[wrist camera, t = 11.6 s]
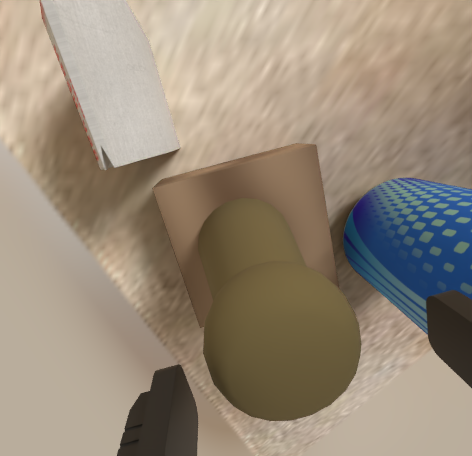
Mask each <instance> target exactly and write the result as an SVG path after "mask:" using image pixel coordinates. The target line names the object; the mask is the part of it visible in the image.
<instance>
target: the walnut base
mask: <svg viewBox="0 0 472 456" xmlns="http://www.w3.org/2000/svg"><path fill="white" fill-rule="evenodd" d="M152 189H153V192H154V195H155V197H156V200H157V203H158V206H159V209H160V212H161V215H162V218H163V221H164V224H165V227H166V229H167V232H168V235H169V238H170V241H171V244H172V247H173V250H174V253H175V256H176V259H177V261H178V264H179V267H180V270H181V273H182V276H183V279H184V282H185V285H186V288H187V291H188V294H189V296H190V299H191V302H192V305H193V308H194V311H195V314H196V317H197V320H198V323H199V326H200V328H202V327H205V319H206V317H207V315H208V312H209V310H210V308H211V305H212V303H213V298H212V295H211V291H210V288H209V285H208V281H207V278H206V275H205V271H204V268H203V265H202V261H201V258H200V255H199V251H198V238H199V233H200V231H201V228H202V226H203V223H204V221H205V220H206V219H207V218H208V216H209V215H210V214H211V213H212V212H213V211H214V210H215V209H216V208H218V207H220V206H221V205H223V204H224V203H226V202H229V201H233V200H237V199H240V198H248V199H258V200H261V201H263V202H266V203H268V204H271V205H272V206H273V207H275V208H276V209H277V210H278V211H279V212H280V213H282V215H283V217H284V218H285V220H286V222H287V223H288V225H289V227H290V229H291V232H292V234H293V236H294V238H295V241H296V243H297V245H298V247H299V250H300V252H301V254H302V256H303V259H304V261H305V263H306V265H307V267H308V268H311V269H313V270H316V271H318V272H320V273H321V274H322V275H324V276H325V277H326V278H327V279H328V280H330V281H331V282H332V283H333V284H335V285H336V286H337V287H338V288H339V284H338V278H337V272H336V265H335V259H334V253H333V247H332V240H331V234H330V228H329V222H328V215H327V209H326V203H325V197H324V190H323V184H322V178H321V172H320V165H319V159H318V153H317V146H316V145H315V144H298V143H296V144H292V145H289V146H285V147H281V148H277V149H274V150H270V151H266V152H262V153H259V154H255V155H251V156H247V157H244V158H240V159H236V160H232V161H229V162H225V163H221V164H217V165H214V166H210V167H206V168H202V169H199V170H195V171H191V172H187V173H184V174H180V175H176V176H172V177H169V178H165V179H162V180H161V181H160V182H159V183H158V184H156V185H155V186H154V187H153V188H152Z"/></svg>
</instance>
